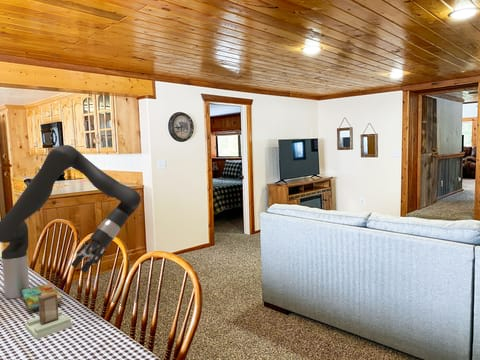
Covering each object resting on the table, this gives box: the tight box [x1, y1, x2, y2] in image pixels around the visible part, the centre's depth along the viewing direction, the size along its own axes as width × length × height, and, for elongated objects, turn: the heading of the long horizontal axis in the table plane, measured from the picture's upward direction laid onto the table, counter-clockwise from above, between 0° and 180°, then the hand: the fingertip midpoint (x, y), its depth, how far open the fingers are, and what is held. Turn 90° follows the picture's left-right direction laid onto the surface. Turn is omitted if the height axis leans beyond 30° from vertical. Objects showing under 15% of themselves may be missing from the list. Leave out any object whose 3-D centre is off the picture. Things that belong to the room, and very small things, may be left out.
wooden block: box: [38, 292, 59, 325], centre depth 128 cm, size 4×5×10 cm
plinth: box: [24, 309, 74, 340], centre depth 128 cm, size 11×12×3 cm
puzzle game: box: [22, 282, 63, 311], centre depth 149 cm, size 12×5×20 cm
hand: (77, 268), depth 134 cm, fingers open, 8 cm apart
